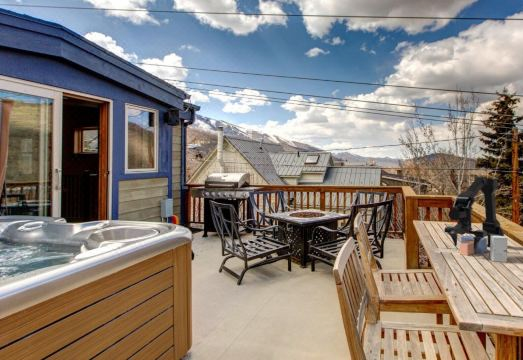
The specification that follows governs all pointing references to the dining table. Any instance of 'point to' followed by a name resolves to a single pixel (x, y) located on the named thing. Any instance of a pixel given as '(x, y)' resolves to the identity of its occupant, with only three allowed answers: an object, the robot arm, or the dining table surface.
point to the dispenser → (481, 245)
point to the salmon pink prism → (467, 248)
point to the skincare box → (498, 248)
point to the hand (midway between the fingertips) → (465, 247)
